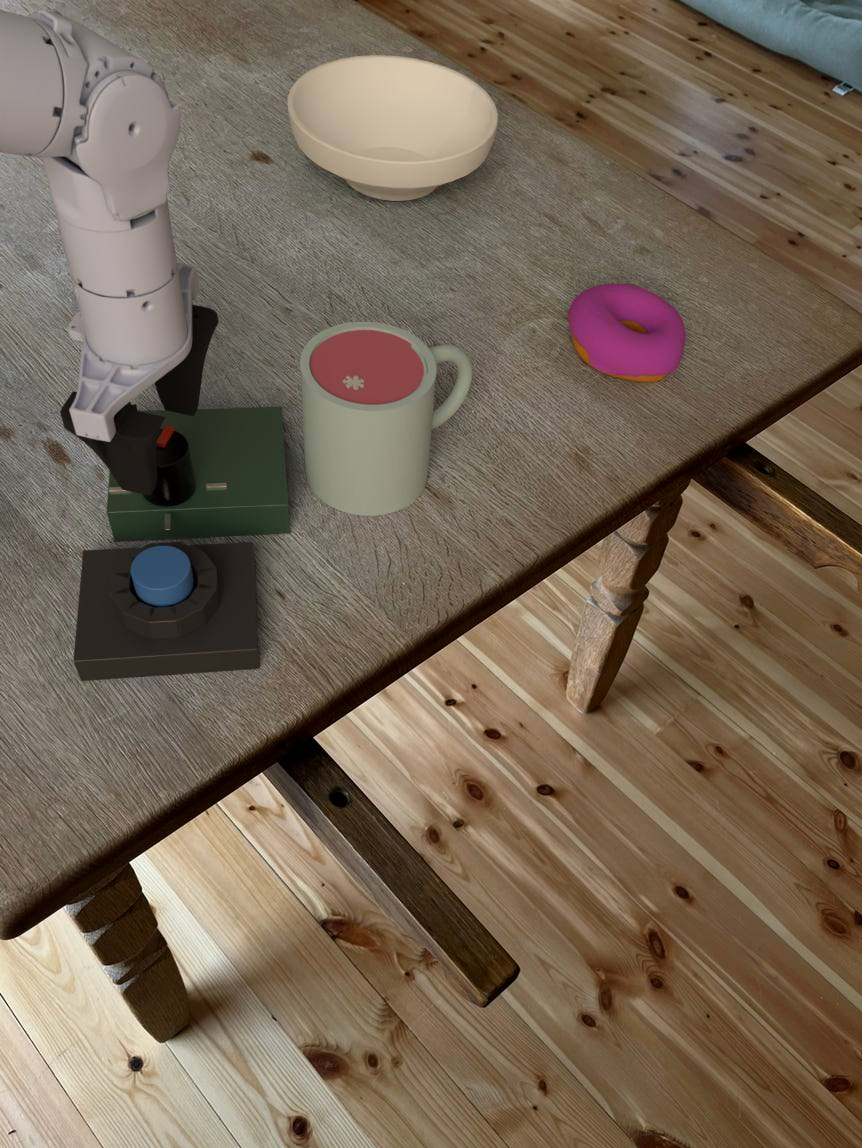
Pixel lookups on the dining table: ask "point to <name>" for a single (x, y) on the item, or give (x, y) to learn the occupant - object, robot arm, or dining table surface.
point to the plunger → (162, 575)
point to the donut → (627, 332)
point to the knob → (172, 470)
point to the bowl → (392, 123)
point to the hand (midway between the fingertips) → (160, 448)
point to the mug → (373, 414)
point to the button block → (167, 616)
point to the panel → (215, 480)
